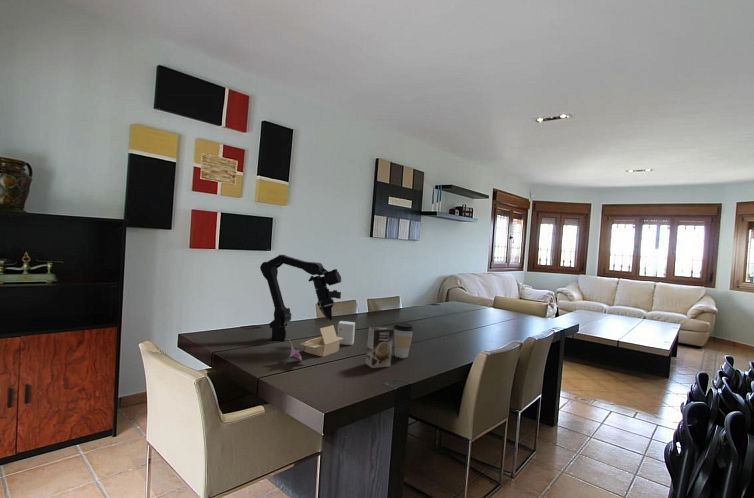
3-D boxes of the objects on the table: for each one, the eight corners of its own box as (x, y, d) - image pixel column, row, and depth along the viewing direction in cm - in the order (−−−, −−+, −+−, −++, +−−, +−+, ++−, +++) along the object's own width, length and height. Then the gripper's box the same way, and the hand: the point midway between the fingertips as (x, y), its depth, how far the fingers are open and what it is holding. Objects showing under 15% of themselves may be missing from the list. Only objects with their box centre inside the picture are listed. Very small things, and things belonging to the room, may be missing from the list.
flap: (319, 328, 178) (320, 328, 178) (332, 325, 186) (333, 325, 186) (324, 344, 176) (325, 344, 176) (337, 340, 185) (338, 340, 185)
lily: (298, 373, 155) (310, 350, 158) (272, 358, 156) (285, 336, 159) (301, 372, 166) (313, 351, 169) (277, 359, 167) (289, 338, 170)
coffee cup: (414, 356, 188) (416, 324, 188) (407, 360, 180) (409, 328, 179) (395, 352, 192) (398, 321, 192) (387, 356, 184) (390, 324, 183)
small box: (353, 342, 203) (355, 322, 203) (352, 345, 197) (353, 324, 197) (338, 341, 204) (340, 320, 203) (336, 343, 198) (338, 322, 198)
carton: (296, 353, 176) (297, 342, 176) (326, 344, 196) (327, 334, 195) (315, 359, 171) (316, 347, 171) (345, 348, 190) (345, 338, 190)
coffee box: (371, 368, 165) (375, 329, 165) (365, 363, 171) (368, 326, 170) (390, 366, 169) (394, 329, 169) (383, 362, 175) (386, 325, 175)
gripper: (339, 282, 184) (348, 315, 183) (334, 284, 202) (343, 314, 201) (316, 289, 181) (325, 322, 180) (313, 290, 199) (321, 320, 198)
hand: (329, 319), depth 190 cm, fingers open, 9 cm apart
